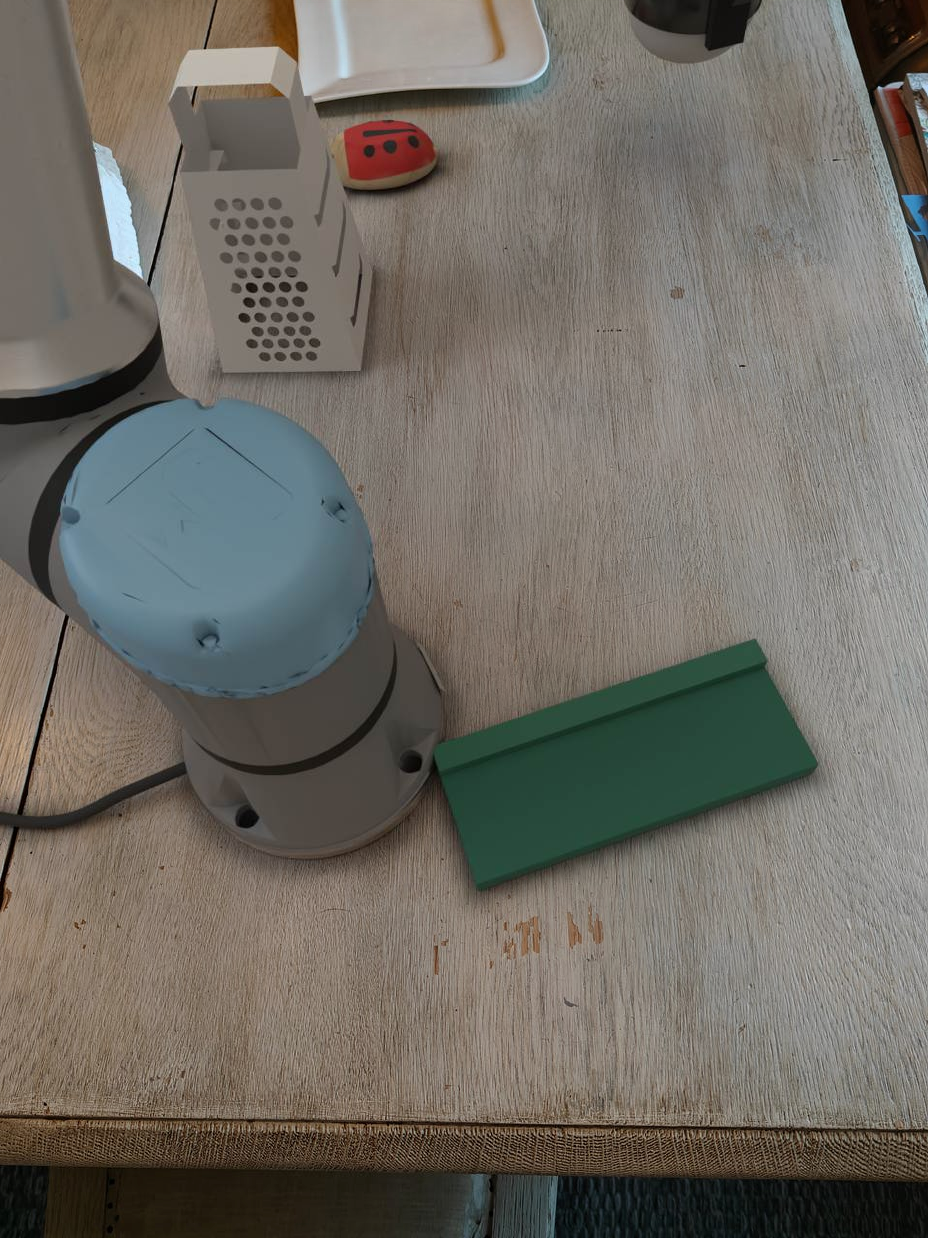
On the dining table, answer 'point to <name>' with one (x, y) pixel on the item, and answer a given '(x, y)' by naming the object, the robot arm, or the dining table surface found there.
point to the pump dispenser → (676, 28)
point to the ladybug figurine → (383, 154)
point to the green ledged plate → (619, 763)
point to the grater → (269, 213)
